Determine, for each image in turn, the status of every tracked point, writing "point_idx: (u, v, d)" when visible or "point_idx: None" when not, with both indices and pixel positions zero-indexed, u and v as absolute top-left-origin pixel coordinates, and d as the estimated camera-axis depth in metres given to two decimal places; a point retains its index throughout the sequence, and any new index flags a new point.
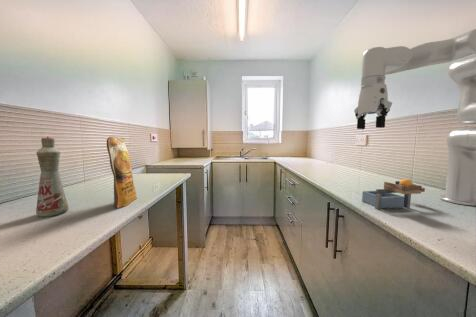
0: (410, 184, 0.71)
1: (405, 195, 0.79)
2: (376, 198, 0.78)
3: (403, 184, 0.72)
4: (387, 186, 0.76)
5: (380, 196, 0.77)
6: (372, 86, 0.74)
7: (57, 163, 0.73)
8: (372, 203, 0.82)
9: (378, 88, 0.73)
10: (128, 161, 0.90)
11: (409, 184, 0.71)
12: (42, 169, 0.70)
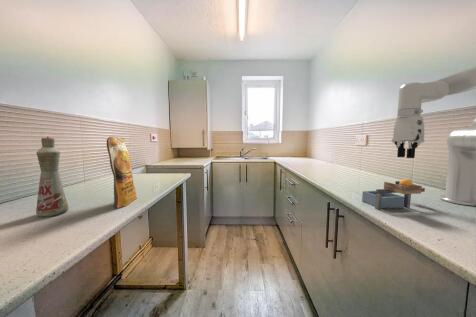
0: (410, 184, 0.71)
1: (405, 195, 0.79)
2: (376, 198, 0.78)
3: (403, 184, 0.72)
4: (387, 186, 0.76)
5: (380, 196, 0.77)
6: (409, 118, 0.82)
7: (57, 163, 0.73)
8: (372, 203, 0.82)
9: (416, 120, 0.80)
10: (128, 161, 0.90)
11: (409, 184, 0.71)
12: (42, 169, 0.70)
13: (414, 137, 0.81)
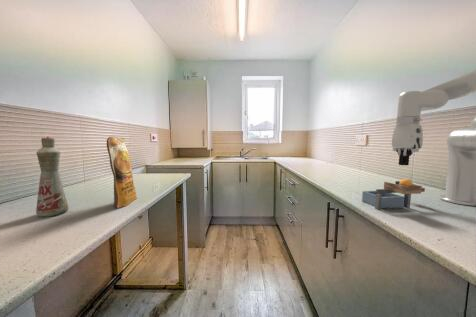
0: (410, 184, 0.71)
1: (405, 195, 0.79)
2: (376, 198, 0.78)
3: (403, 184, 0.72)
4: (387, 186, 0.76)
5: (380, 196, 0.77)
6: (408, 126, 0.82)
7: (57, 163, 0.73)
8: (372, 203, 0.82)
9: (414, 128, 0.81)
10: (128, 161, 0.90)
11: (409, 184, 0.71)
12: (42, 169, 0.70)
13: (412, 145, 0.81)
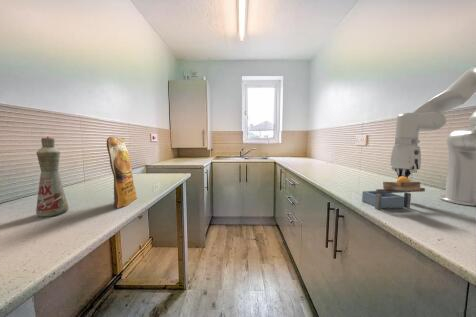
0: (407, 179, 0.72)
1: (405, 195, 0.79)
2: (376, 198, 0.78)
3: (400, 181, 0.73)
4: (386, 185, 0.77)
5: (380, 196, 0.77)
6: (406, 147, 0.83)
7: (57, 163, 0.73)
8: (372, 203, 0.82)
9: (412, 150, 0.82)
10: (128, 161, 0.90)
11: (406, 179, 0.72)
12: (42, 169, 0.70)
13: (411, 166, 0.82)
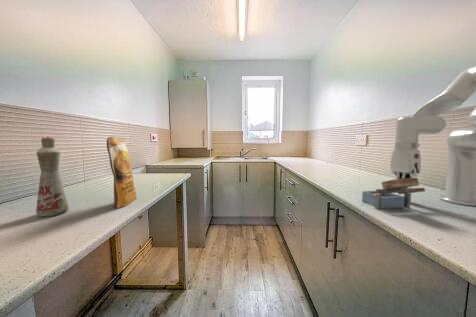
0: None
1: (405, 195, 0.79)
2: (376, 198, 0.78)
3: None
4: (385, 185, 0.77)
5: (380, 196, 0.77)
6: (406, 151, 0.83)
7: (57, 163, 0.73)
8: (372, 203, 0.82)
9: (412, 154, 0.82)
10: (128, 161, 0.90)
11: None
12: (42, 169, 0.70)
13: (411, 170, 0.82)
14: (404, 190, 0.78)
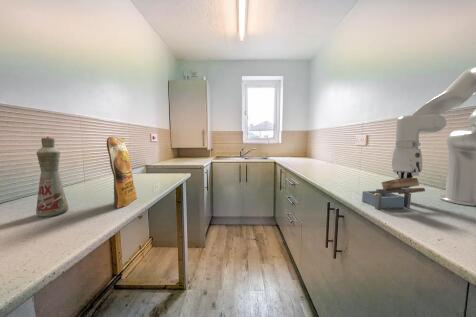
0: None
1: (405, 195, 0.79)
2: (376, 198, 0.78)
3: None
4: (385, 185, 0.77)
5: (380, 196, 0.77)
6: (407, 150, 0.83)
7: (57, 163, 0.73)
8: (372, 203, 0.82)
9: (414, 153, 0.82)
10: (128, 161, 0.90)
11: None
12: (42, 169, 0.70)
13: (412, 169, 0.82)
14: (404, 190, 0.78)
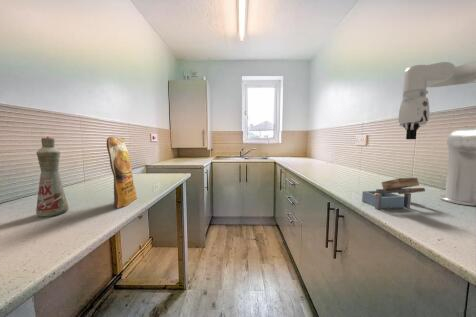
0: None
1: (405, 195, 0.79)
2: (376, 198, 0.78)
3: None
4: (385, 185, 0.77)
5: (380, 196, 0.77)
6: (415, 99, 0.84)
7: (57, 163, 0.73)
8: (372, 203, 0.82)
9: (421, 101, 0.82)
10: (128, 161, 0.90)
11: None
12: (42, 169, 0.70)
13: (420, 118, 0.82)
14: (404, 190, 0.78)
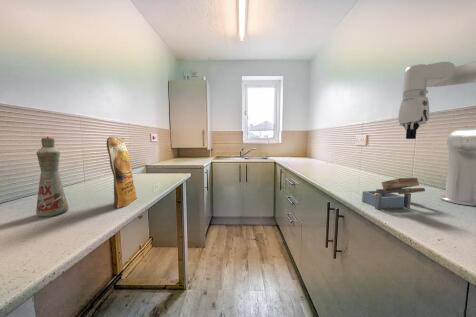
0: None
1: (405, 195, 0.79)
2: (376, 198, 0.78)
3: None
4: (385, 185, 0.77)
5: (380, 196, 0.77)
6: (415, 99, 0.84)
7: (57, 163, 0.73)
8: (372, 203, 0.82)
9: (421, 101, 0.82)
10: (128, 161, 0.90)
11: None
12: (42, 169, 0.70)
13: (419, 117, 0.82)
14: (404, 190, 0.78)
